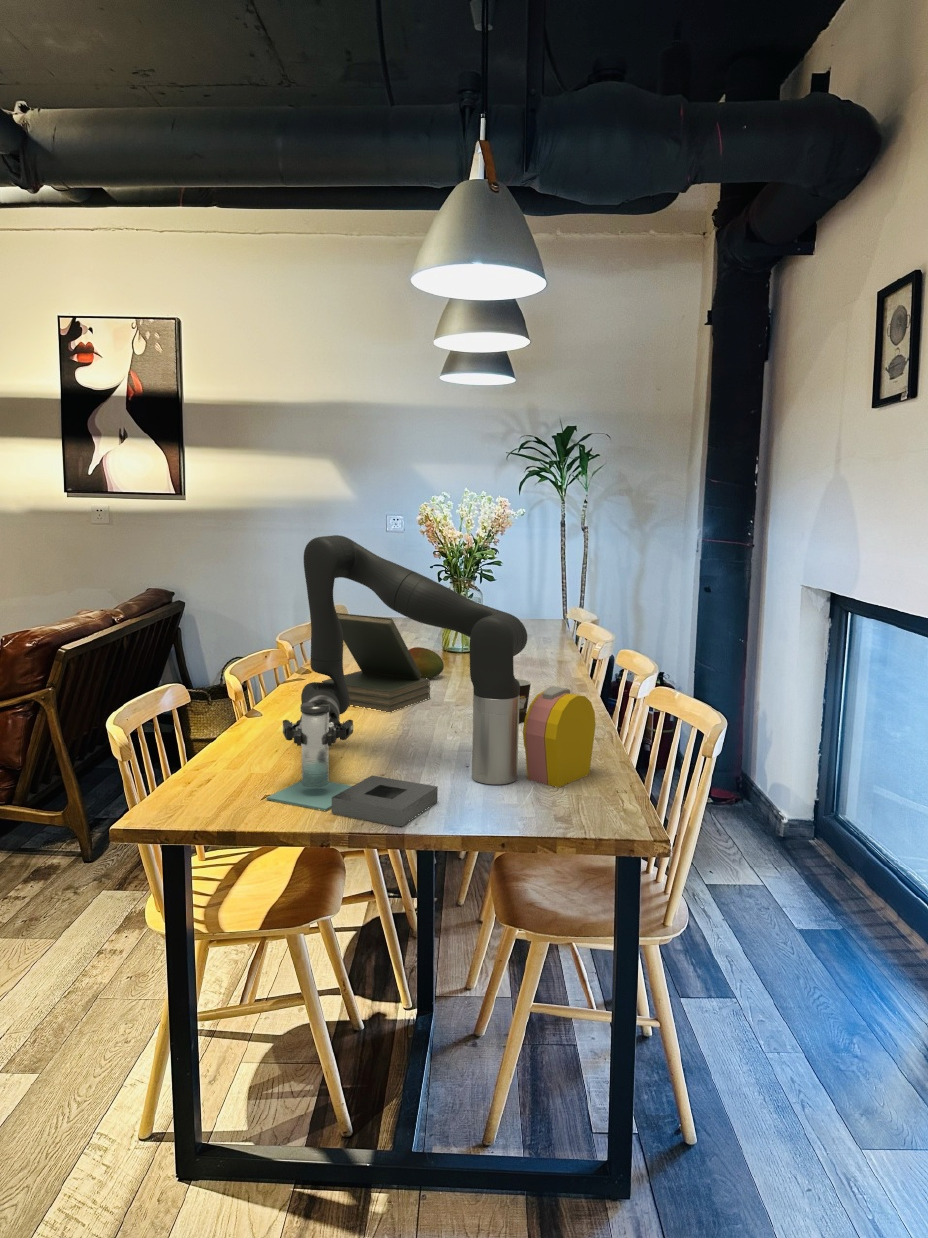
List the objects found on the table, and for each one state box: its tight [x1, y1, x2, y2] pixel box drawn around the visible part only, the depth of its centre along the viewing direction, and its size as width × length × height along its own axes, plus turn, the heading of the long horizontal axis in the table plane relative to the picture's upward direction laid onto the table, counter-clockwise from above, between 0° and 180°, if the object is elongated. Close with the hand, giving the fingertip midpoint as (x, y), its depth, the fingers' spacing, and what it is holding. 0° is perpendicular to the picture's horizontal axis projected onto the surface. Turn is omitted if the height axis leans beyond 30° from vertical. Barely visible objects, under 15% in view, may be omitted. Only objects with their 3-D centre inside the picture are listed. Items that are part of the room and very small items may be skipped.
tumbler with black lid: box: [299, 702, 330, 788], centre depth 161 cm, size 5×5×15 cm
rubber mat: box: [265, 779, 353, 812], centre depth 162 cm, size 13×13×1 cm
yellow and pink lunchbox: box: [522, 685, 596, 788], centre depth 175 cm, size 15×8×18 cm, turn 141°
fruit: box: [408, 646, 445, 679], centre depth 271 cm, size 12×13×10 cm
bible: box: [321, 612, 431, 713], centre depth 238 cm, size 23×20×25 cm
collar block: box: [331, 775, 439, 827], centre depth 156 cm, size 14×14×3 cm
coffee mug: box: [516, 678, 532, 724], centre depth 220 cm, size 12×9×10 cm
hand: (314, 740), depth 158 cm, fingers closed on tumbler with black lid, 5 cm apart
